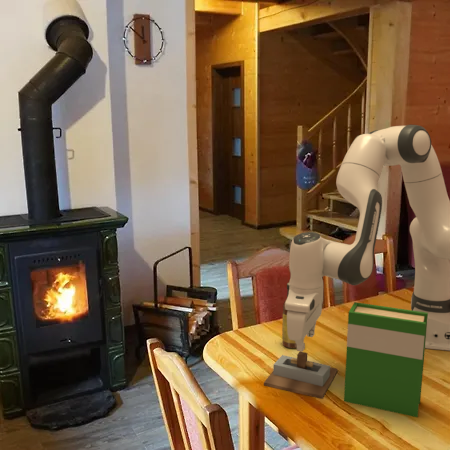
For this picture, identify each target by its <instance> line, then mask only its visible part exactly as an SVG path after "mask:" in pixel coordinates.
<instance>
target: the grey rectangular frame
mask: <svg viewBox="0 0 450 450" xmlns="http://www.w3.org/2000/svg"><path fill="white" fill-rule="evenodd" d="M292 358H294V359H297V357H294V356H288V355H284V354H282V355H281V356H280V357H279V358H277V360H276V362H274V363H273V369H272V372H273V374H274V375H278V376H282V377H286V378H290V379H294V380H298V381H302V382H306V383H310V384H314V385H318V386H322V387H323V385H324V384H325V382H326V381H327V379H328V378H329V377H330V367H331V365H327V364H323V363H319V362H314V361H310V360H308V361H309V362H313V367H308V366H307V370H306V369H302V368H298V367H297V364H294V363H291V359H292Z"/></svg>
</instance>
